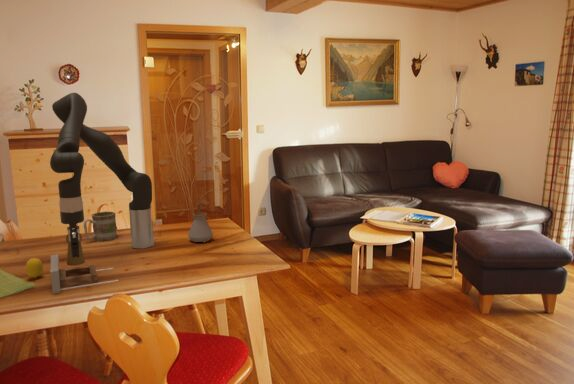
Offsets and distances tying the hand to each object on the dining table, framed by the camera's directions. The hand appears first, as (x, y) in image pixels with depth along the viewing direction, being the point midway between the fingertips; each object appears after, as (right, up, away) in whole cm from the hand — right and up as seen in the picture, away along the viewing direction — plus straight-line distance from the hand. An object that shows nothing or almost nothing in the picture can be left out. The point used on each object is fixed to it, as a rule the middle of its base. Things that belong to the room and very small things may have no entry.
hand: (75, 255), depth 169 cm
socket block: (0, -9, +2) cm, 9 cm away
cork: (0, -3, 0) cm, 3 cm away
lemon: (-17, -9, +4) cm, 20 cm away
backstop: (+3, -9, +3) cm, 10 cm away
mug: (-12, 0, +54) cm, 55 cm away
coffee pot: (+34, +1, +56) cm, 66 cm away
